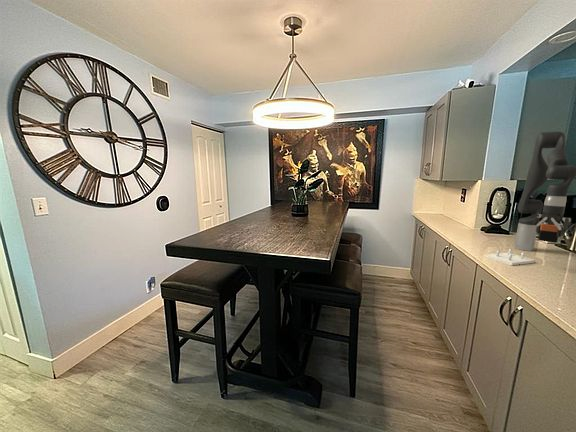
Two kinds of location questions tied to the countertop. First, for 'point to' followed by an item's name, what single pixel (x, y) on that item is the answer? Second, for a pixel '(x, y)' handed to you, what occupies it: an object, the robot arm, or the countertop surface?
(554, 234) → the battery
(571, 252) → the countertop surface
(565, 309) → the countertop surface
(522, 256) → the pin dock
